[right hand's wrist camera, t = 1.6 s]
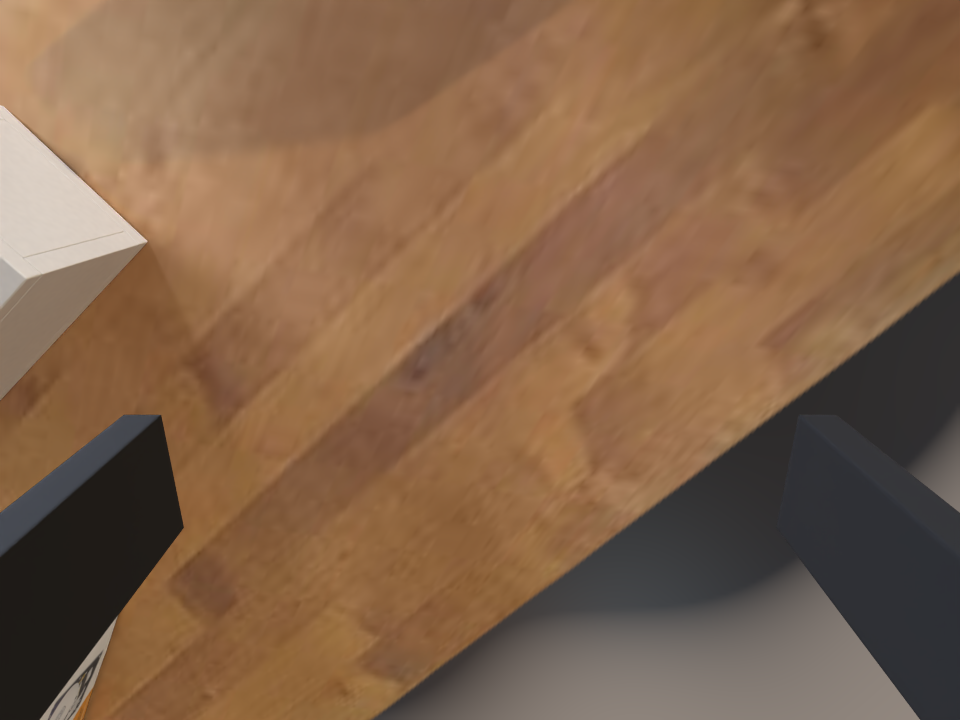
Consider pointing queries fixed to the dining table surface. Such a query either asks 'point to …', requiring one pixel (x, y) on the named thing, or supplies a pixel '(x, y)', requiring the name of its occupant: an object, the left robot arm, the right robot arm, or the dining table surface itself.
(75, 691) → the hard drive box
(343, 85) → the dining table surface
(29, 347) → the cabinet
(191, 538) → the dining table surface
